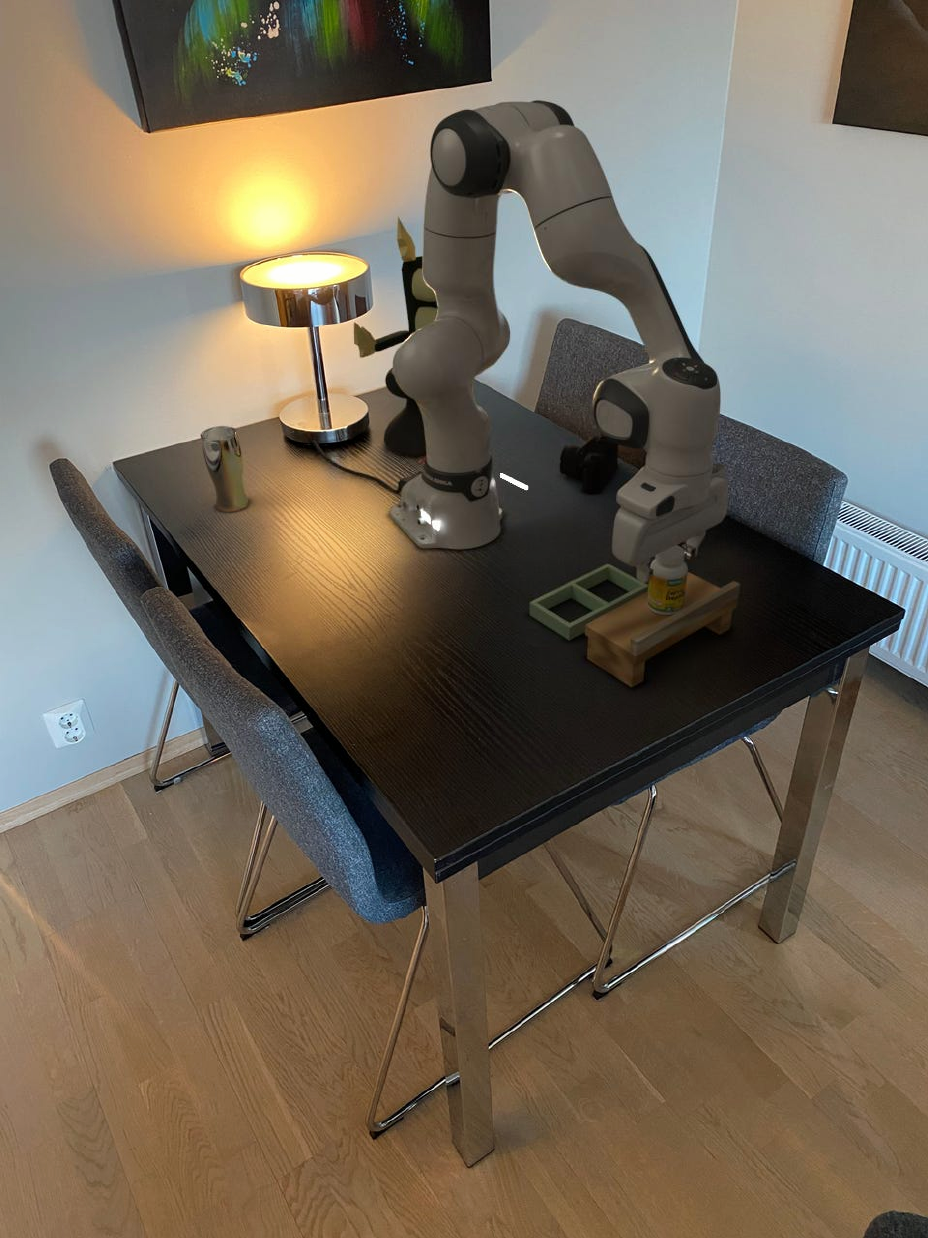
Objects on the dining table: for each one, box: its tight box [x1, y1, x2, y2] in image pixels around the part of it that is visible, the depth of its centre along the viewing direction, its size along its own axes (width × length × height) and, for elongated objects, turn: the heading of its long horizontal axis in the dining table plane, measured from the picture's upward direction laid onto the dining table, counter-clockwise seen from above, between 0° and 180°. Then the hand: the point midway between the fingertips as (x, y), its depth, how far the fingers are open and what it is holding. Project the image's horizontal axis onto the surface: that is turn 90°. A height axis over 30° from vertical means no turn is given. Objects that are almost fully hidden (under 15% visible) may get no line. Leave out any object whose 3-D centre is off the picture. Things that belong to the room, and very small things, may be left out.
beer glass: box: [200, 425, 249, 513], centre depth 180 cm, size 7×7×15 cm
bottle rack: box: [529, 563, 649, 641], centre depth 150 cm, size 9×17×2 cm, turn 128°
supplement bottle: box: [647, 545, 689, 615], centre depth 137 cm, size 5×5×10 cm
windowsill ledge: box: [584, 571, 741, 688], centre depth 140 cm, size 10×22×8 cm, turn 128°
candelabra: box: [353, 216, 438, 457], centre depth 193 cm, size 19×22×45 cm
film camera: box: [559, 433, 619, 495], centre depth 186 cm, size 15×10×9 cm, turn 155°
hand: (666, 567), depth 136 cm, fingers open, 8 cm apart
